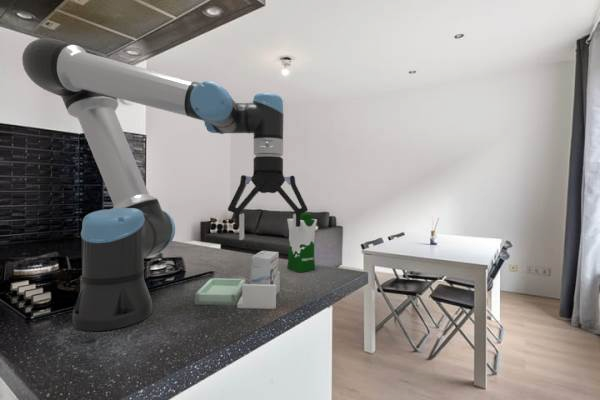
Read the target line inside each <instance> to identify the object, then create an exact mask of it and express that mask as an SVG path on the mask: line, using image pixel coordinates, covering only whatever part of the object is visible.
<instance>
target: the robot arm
mask: <svg viewBox="0 0 600 400" xmlns="http://www.w3.org/2000/svg"><path fill="white" fill-rule="evenodd" d="M21 61H22V66H23V70H24V71H25V74H26V75H27V76H28V78H29V79H30V80H31V81H32V82H33V83H34V84H35V85H36V86H38V87H40V88H41V89H43V90H45V91H47V92H50V93H52V94H53V95H56V96H60V97H61V99H62V102H63V103H64V106H65V109H66V110H67V111H66V112H67V114H69V115H70V116H71V117H73V118H76V119H77V120H78V122H79V124H80V127H81V129H82V131H83V132H82V133H83V134H84V136H85V139H86V141H87V143H88V147H89V148H90V150H91V153H92V155H93V158H94V161H95V163H96V165H97V168H98V171H99V173H100V175H101V177H102V180H103V183H104V184H105V187H106V190H107V192H108V194H109V198H110V200H111V202H112V204H113V208H109V209H99V210H96V211H95V210H94V211H92V212H89V213H87V214H86V215H85V216H84V218H83V219H82V223H81V224H82V225H81V227H82V228H81V230H80V231H81V232H80V237H81V274H82V276H81V278H82V282H81V283H82V286H81V289H80V291H79V294H78V296H77V299H76V302H75V305H74V308H73V310H72V321H71V322H72V326H73V327H74V328H75V329H78V330H81V331H88V332H95V331H96V332H98V331H99V332H100V331H110V330H117V329H121V328H124V327H129V326H132V325H134V324H137V323H140V322H142V321H144V320H146V319H147V318H148V317H150V316H151V314H152V313H153V300H152V297H151V294H150V292H149V289H148V287H147V284H146V281H145V277H144V275H145V273H144V270H145V266H144V265H145V260H144V259H145V258H146V259H147V258H148V257H150V256H153V255H156V254H159V253H161V252H163V250H164V249H166V248H167V247H169V246H170V245H171V243H172V241H173V240H174V237H175V235H176V225H175V221H174V219H173V218H172V216H171V215H170V214H169V213H168V212H167V211H165V210H164V209H162V206H161V204H160V202H159V200H158V197H155V196H153V195H150V193H149V191H148V188H147V186H146V184H145V181H144V178H143V177H142V174H141V171H140V169H139V167H138V164H137V162H136V160H135V157H134V155H133V153H132V149H131V147H130V145H129V142H128V141H127V137H126V135H125V132H124V130H123V128H122V125H121V123H120V120H119V119H118V116H117V113H116V111H117V108H118V106H119V102H118V99H120V100H124V101H128V102H130V103H131V102H132V103H136V104H139V105H142V106H143V105H144V106H146V107H147V106H148V107H150V108H154V109H159V110H162V111H167V112H171V113H173V114H178V115H182V116H185V117H189V118H192V119H194V120H195V119H196V120H200V121H203V123H204V127H205V128H206V130H207V132H209V133H212V134H219V135H224V134H253V155H254V157H253V173H252V176H247V175H244V174H242V175H241V176H240V183H239V185H238V186H237V190H236V191H235V194H234V195H233V197H232V199H231V201H230V203H229V205H228V208H227V211H229V212H232V213H233V214H234V217H235V218H234V219H235V221H234V223H235V224H234V225H235V227H239V229H238V230H239V231H238V232H239V233H238V235H239V236H238V238H239V239H238V240H239V241H243V240H244V239H245V213H242V211H243V210H245V209H246V208H247V206H248V205H249V203H250V202H251V201H252V200H253V199H254V198H255V196H256V195H257V194H258V193H261V194H265V193H266V194H267V193H269V194H275V193H277V192H278V194H279V195H280V196H281V197H282V198H283V200H284V201H285V202H286V203H287V204H288V205H289V207H290V208H291V209H292V210H293V212H295V213H292V219H293V240H296V227H300V216H301V214H302V213H307V212H308V207H307V204H306V202H305V201H304V199H303V197H302V194H301V192H300V191H299V188H298V187H297V184H296V177H295V176H294V175H290V176H284V158H283V157H282V156H283V155H284V100H283V98H282V97H281V96H280V95H278V94H276V93H272V92H271V93H270V92H262V93H257V94H255V95H254V96H253V100H252V102H247V103H246V102H244V103H242V102H236V101H235V100H234V99H233V98H232V96H231V95H230V93H229V92H228V91H227V89H225V87H223V86H222V85H220V84H219V83H217V82H215V81H211V80H209V81H208V80H206V81H202V82H197V81H194V80H190V79H186V78H183V77H178V76H175V75H171V74H167V73H162V72H161V71H155V70H151V69H148V68H145V67H140V66H136V65H133V64H129V63H125V62H121V61H119V60H114V59H111V58H105V57H103V56H98V55H95V54H93V53H92V54H91V53H87V51H86V50H85V49H84V48H83V47H81V46H79V45H77V44H72V43H69V42H66V41H64V40H59V39H55V38H49V37H47V38H45V37H44V38H43V37H42V38H37V39H35V40H33V41H31V42H29V43H28V45H26V47H25V49H24V51H23V52H22V58H21ZM250 182H252V184H253V185H254V187H253V189H251V191H250V192H249V193H248V195H246V197H245V198H244V200H242V202H240V204H239V205H238V203H239V201H240V198H241V197H242V195H243V193H244V191H245V189H246V187H247V185H249V184H250ZM285 182H286V183H287V184H288V185H289V186H291V189H292V190H293V193H294V195H295V197H296V199H297V201H298V203H299V205H300V207H298V205H296V203H295V202H294V201H293V200H292V198H291V197H290V196H289V195H288V194H287V192H286V191H285V190H284V188H282V186H283V185H284V183H285ZM237 205H238V207H236V206H237Z"/></svg>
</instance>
